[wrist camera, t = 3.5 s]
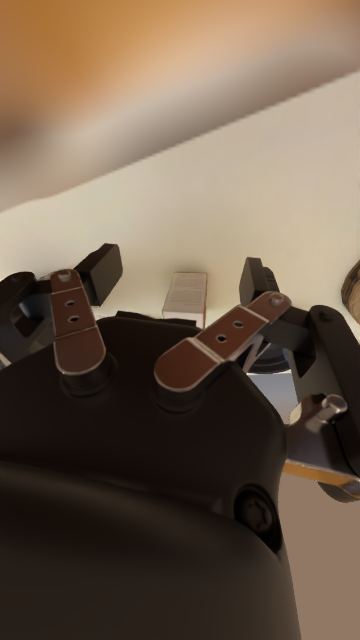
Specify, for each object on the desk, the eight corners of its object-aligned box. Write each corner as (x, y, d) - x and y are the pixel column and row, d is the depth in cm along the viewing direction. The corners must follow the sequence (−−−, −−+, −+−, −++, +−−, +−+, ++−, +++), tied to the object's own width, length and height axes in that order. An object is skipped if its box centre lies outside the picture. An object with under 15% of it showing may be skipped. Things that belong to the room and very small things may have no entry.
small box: (206, 310, 39) (203, 354, 31) (177, 308, 40) (166, 351, 32) (208, 272, 33) (204, 313, 26) (174, 271, 34) (161, 311, 26)
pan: (216, 355, 47) (216, 368, 45) (229, 299, 36) (230, 312, 34) (288, 365, 46) (293, 378, 43) (325, 309, 35) (333, 323, 32)
